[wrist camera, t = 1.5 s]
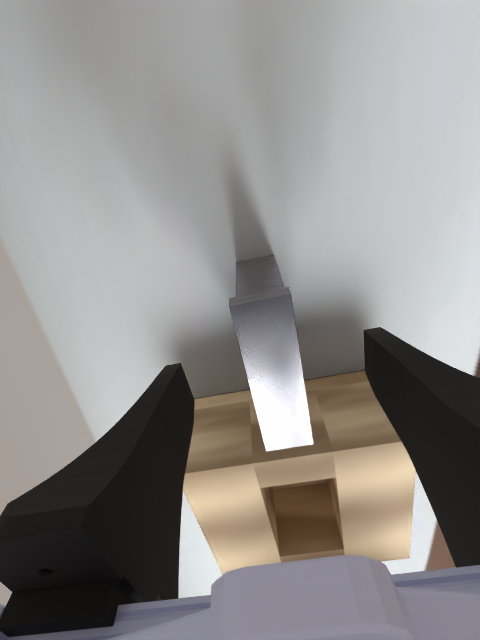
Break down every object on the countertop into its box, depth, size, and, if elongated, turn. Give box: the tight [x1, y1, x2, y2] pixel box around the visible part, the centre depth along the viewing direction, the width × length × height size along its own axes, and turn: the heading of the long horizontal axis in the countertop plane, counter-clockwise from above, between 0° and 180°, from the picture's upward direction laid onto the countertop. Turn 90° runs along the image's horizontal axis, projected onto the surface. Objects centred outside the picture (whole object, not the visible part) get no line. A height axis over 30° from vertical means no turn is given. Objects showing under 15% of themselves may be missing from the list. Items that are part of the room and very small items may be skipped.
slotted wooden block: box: [183, 370, 415, 574], centre depth 21 cm, size 11×12×6 cm
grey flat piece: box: [229, 255, 313, 451], centre depth 15 cm, size 7×2×7 cm, turn 12°
